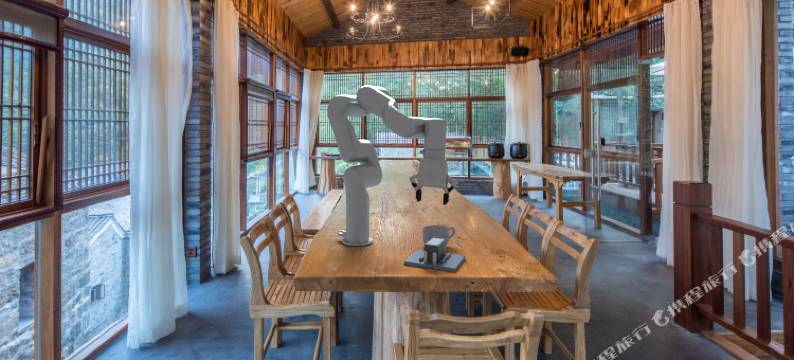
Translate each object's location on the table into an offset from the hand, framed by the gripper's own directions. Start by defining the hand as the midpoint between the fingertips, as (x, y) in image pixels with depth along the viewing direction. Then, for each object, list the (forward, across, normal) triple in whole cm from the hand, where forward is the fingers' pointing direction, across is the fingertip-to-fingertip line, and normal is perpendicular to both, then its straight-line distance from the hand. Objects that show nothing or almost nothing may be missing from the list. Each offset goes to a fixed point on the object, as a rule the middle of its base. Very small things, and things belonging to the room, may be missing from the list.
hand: (431, 202), depth 145 cm
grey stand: (+21, +3, -1) cm, 21 cm away
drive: (+20, +2, -1) cm, 20 cm away
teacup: (+21, -2, +18) cm, 28 cm away
